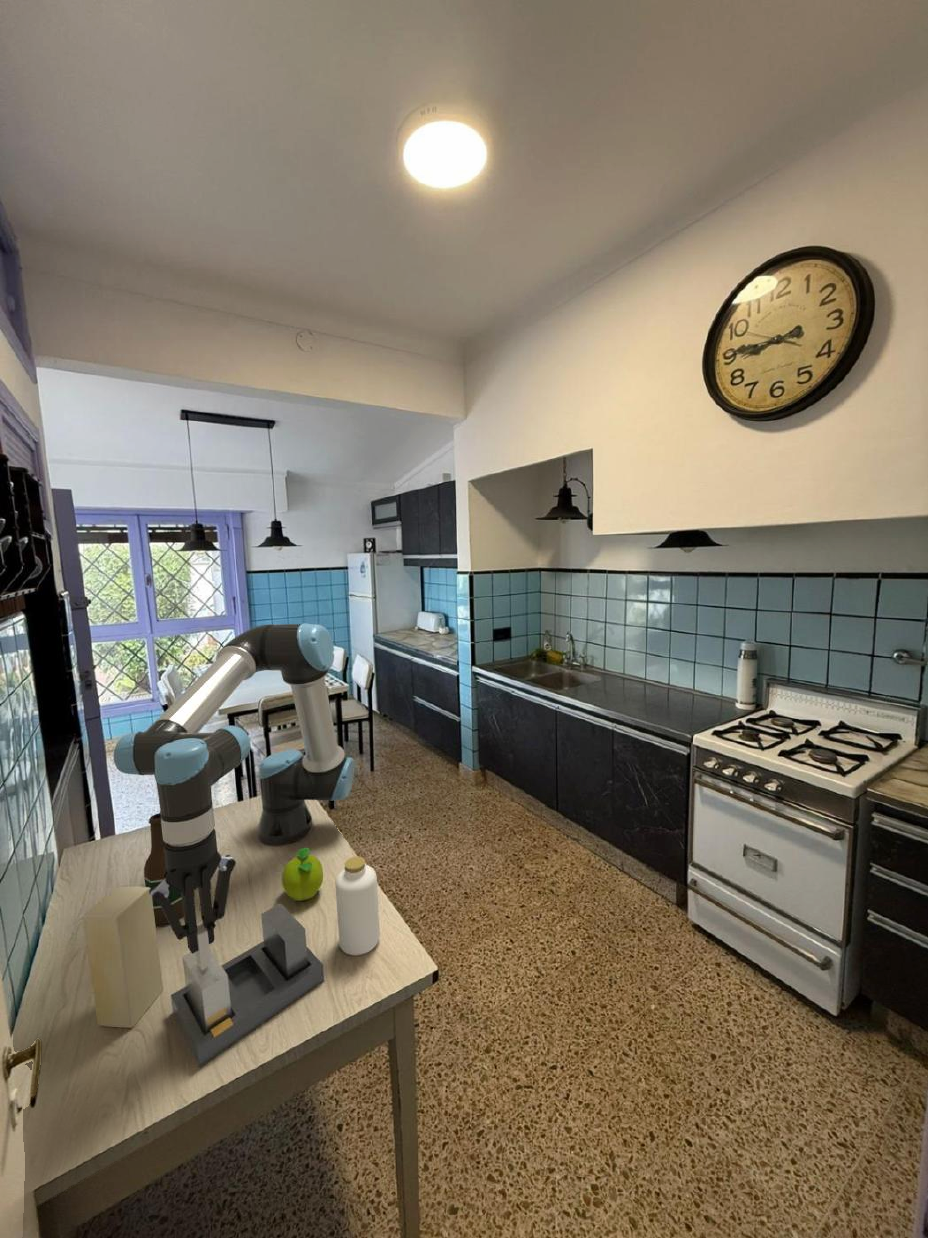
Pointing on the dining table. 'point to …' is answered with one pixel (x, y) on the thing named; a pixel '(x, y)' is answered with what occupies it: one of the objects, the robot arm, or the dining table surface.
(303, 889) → the fruit
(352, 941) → the potion bottle
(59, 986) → the dining table surface
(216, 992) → the silver rectangular block
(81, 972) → the dining table surface
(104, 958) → the cream tall block
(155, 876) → the beer bottle
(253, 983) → the rack
